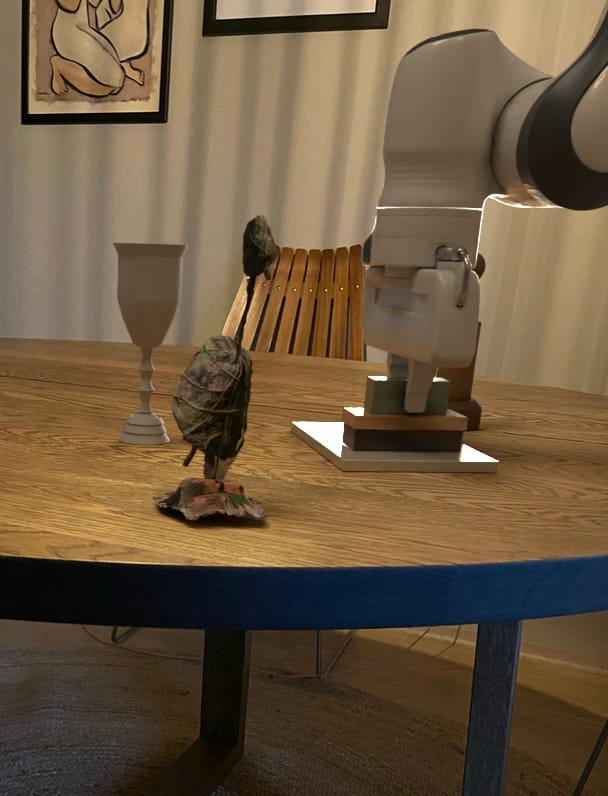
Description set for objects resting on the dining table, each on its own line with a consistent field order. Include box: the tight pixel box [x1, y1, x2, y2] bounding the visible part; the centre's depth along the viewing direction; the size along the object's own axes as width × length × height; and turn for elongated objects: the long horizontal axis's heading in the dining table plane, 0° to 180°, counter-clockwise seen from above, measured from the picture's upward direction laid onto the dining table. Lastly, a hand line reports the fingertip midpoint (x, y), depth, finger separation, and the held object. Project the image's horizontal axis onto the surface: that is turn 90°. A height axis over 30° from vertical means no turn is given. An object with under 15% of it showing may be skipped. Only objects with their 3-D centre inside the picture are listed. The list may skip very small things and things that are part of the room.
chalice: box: [112, 242, 189, 446], centre depth 98 cm, size 7×7×18 cm
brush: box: [341, 375, 468, 452], centre depth 94 cm, size 10×4×6 cm, turn 94°
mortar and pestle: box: [435, 252, 487, 431], centre depth 111 cm, size 7×6×18 cm
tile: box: [290, 421, 500, 474], centre depth 99 cm, size 14×20×1 cm
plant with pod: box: [152, 214, 277, 521], centre depth 72 cm, size 8×11×20 cm
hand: (405, 408), depth 94 cm, fingers closed on brush, 2 cm apart
